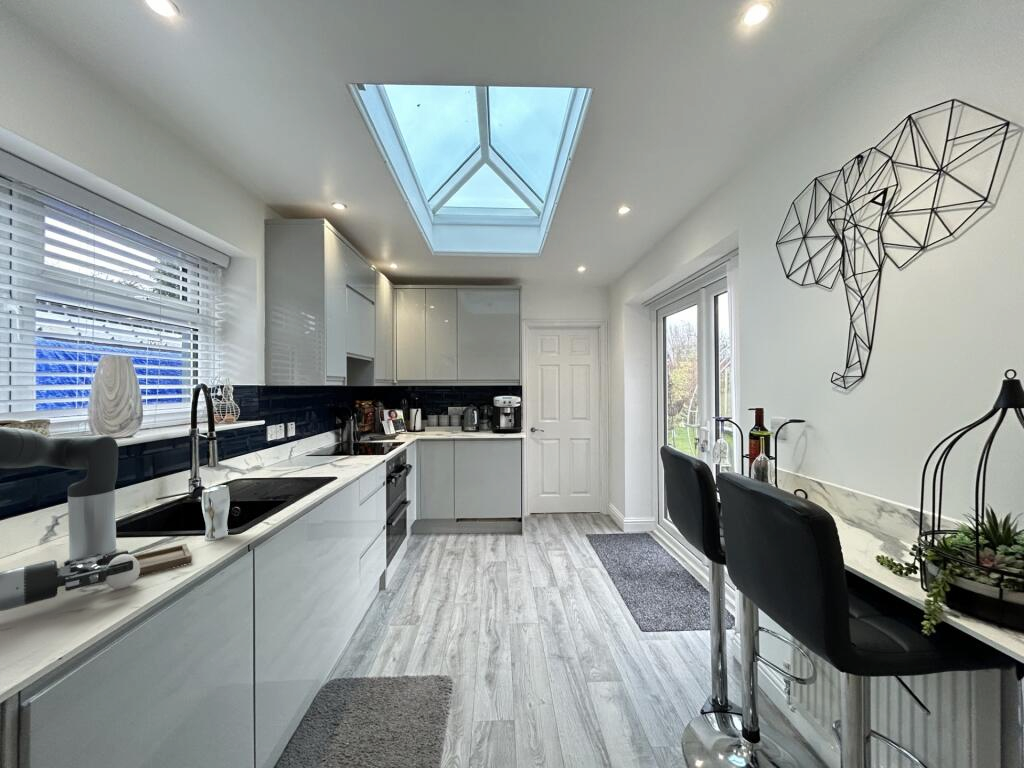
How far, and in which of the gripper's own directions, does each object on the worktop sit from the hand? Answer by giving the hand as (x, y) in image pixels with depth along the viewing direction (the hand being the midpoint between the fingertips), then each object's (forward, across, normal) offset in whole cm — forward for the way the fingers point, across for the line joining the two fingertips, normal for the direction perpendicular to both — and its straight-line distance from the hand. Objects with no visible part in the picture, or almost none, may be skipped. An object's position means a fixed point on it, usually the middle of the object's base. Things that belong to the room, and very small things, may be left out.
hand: (130, 559), depth 96 cm
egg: (-2, 0, +6) cm, 6 cm away
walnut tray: (+6, +10, +6) cm, 14 cm away
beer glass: (+22, +22, +6) cm, 31 cm away
